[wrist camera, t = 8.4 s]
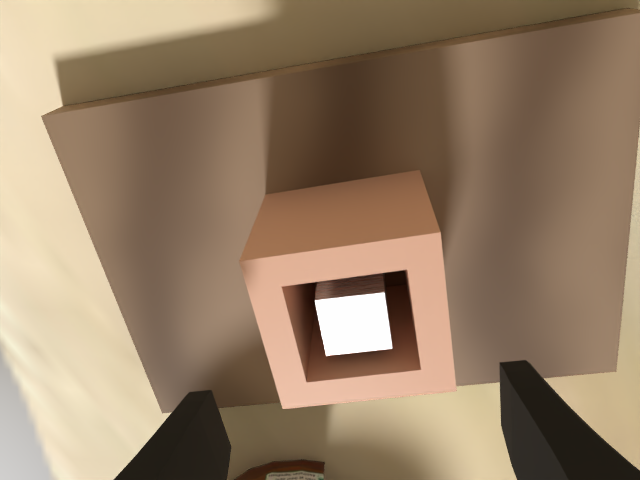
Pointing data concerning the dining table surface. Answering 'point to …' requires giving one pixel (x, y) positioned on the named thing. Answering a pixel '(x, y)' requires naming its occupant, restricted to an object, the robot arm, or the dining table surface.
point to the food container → (286, 471)
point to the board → (366, 162)
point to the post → (354, 314)
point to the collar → (343, 262)
